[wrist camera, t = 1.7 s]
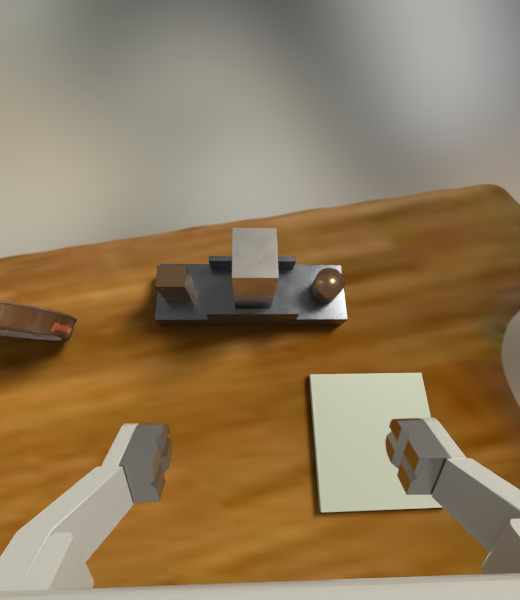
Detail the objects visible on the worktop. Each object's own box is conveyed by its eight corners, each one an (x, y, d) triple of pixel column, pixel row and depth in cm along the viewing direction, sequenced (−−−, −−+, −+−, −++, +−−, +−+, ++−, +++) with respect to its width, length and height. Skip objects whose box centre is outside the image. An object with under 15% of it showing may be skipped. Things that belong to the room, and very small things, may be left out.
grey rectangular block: (235, 311, 32) (231, 277, 24) (235, 271, 34) (232, 227, 26) (269, 311, 33) (278, 277, 24) (268, 272, 34) (276, 228, 26)
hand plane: (160, 325, 34) (142, 308, 28) (166, 273, 36) (150, 246, 30) (340, 324, 35) (360, 307, 29) (334, 274, 37) (351, 248, 31)
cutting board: (319, 509, 28) (321, 512, 27) (308, 375, 33) (310, 374, 32) (444, 504, 29) (450, 507, 28) (417, 373, 33) (421, 372, 33)
